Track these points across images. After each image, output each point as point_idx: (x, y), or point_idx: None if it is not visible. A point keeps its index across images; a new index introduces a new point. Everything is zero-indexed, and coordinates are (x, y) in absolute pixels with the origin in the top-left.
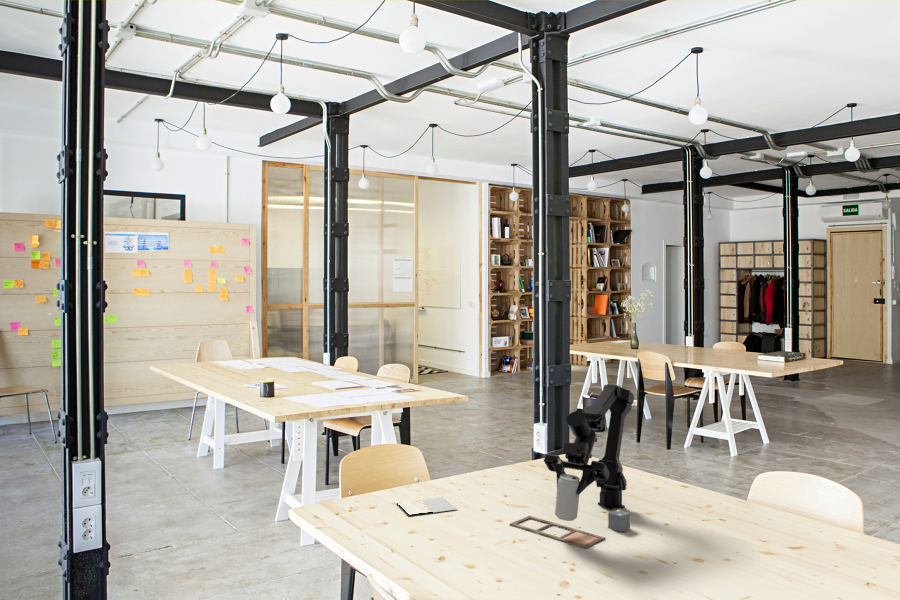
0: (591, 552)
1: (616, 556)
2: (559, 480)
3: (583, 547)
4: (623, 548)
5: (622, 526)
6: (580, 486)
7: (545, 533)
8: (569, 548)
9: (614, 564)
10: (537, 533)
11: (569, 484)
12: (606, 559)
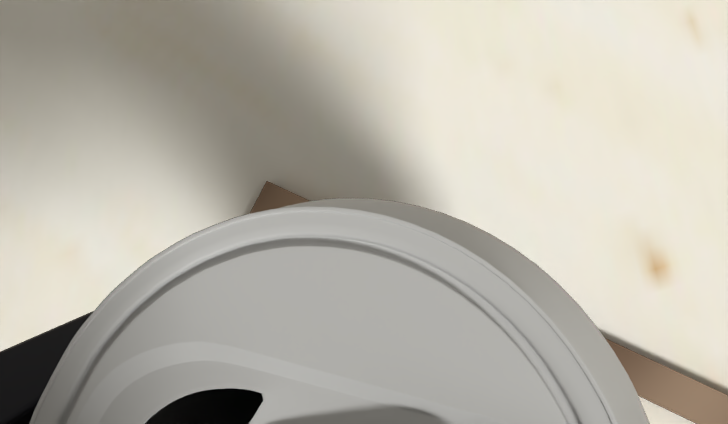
0: (231, 136)
1: (75, 125)
2: (601, 356)
3: (288, 191)
4: (22, 279)
5: None
6: (77, 328)
7: (632, 381)
8: (387, 155)
9: (92, 3)
10: (707, 388)
11: (298, 204)
12: (136, 57)
